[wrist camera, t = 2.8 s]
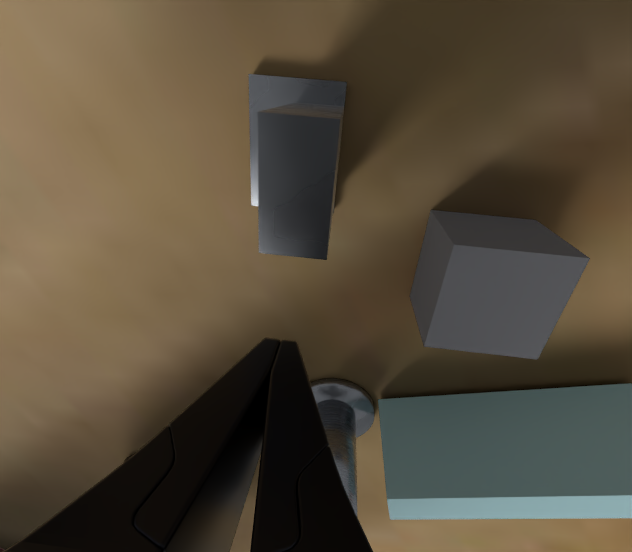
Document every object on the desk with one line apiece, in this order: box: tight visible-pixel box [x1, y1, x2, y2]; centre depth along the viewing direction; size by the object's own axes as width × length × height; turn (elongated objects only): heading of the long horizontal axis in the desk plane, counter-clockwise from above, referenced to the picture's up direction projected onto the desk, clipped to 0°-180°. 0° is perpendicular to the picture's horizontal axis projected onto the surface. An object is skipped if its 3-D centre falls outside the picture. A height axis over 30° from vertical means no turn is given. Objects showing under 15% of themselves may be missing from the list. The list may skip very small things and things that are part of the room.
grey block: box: [249, 74, 347, 260], centre depth 10 cm, size 3×4×6 cm
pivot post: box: [310, 378, 374, 516], centre depth 16 cm, size 4×4×6 cm
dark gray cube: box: [410, 210, 590, 359], centre depth 13 cm, size 4×4×4 cm
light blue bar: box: [378, 383, 632, 519], centre depth 15 cm, size 2×12×6 cm, turn 101°
